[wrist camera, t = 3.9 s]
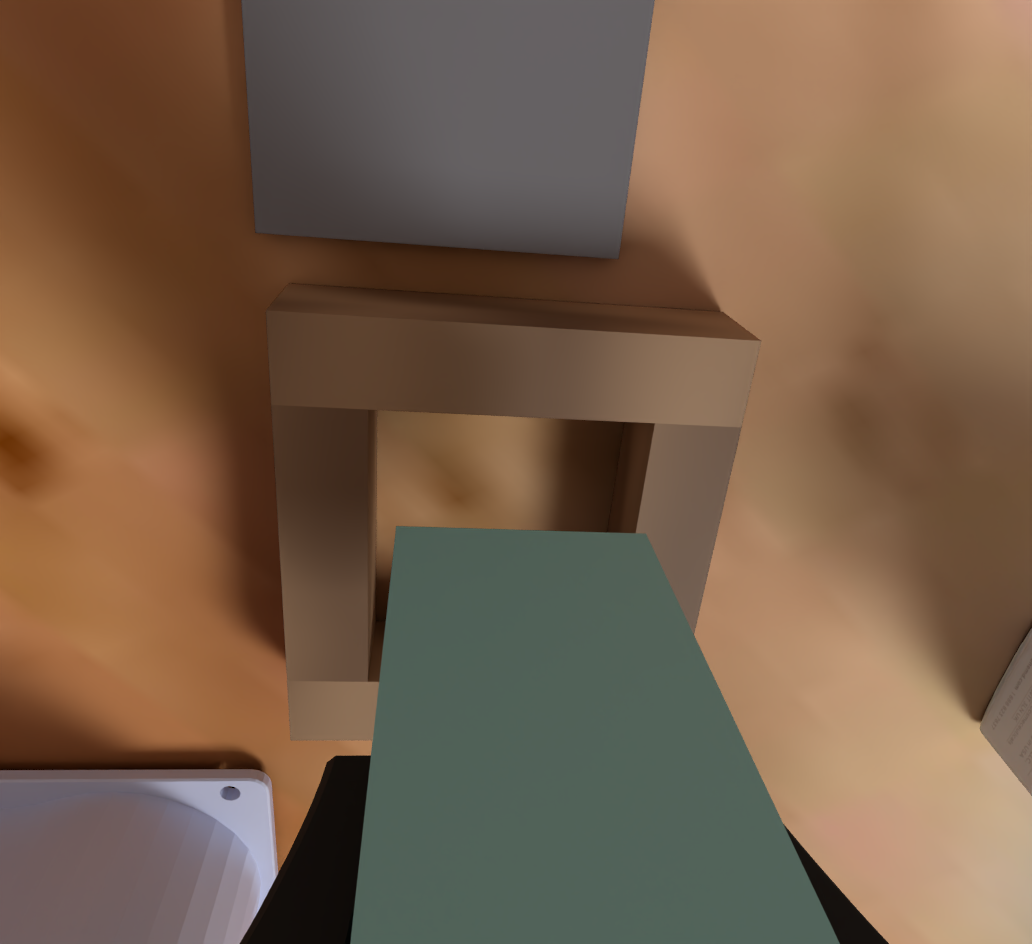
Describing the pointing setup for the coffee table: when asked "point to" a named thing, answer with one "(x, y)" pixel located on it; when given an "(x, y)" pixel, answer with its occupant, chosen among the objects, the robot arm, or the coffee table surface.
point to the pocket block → (478, 391)
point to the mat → (446, 120)
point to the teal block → (561, 759)
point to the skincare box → (1013, 715)
